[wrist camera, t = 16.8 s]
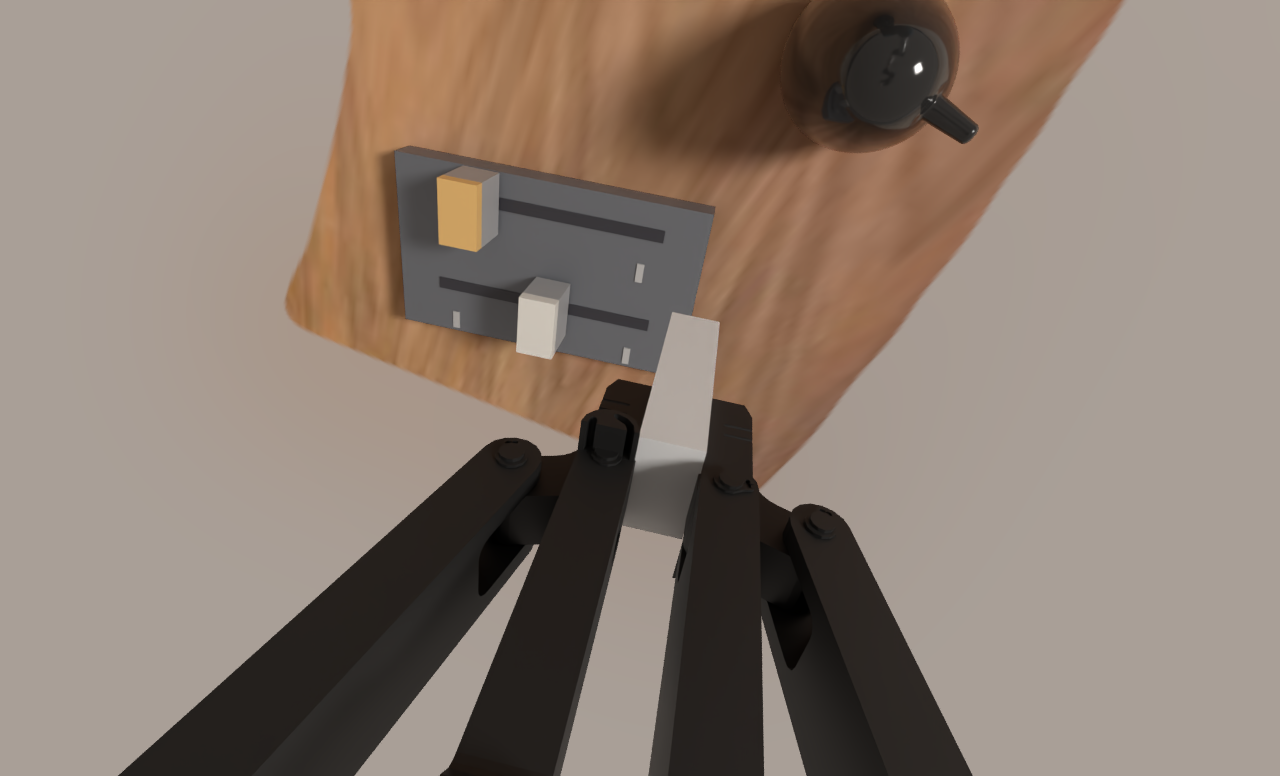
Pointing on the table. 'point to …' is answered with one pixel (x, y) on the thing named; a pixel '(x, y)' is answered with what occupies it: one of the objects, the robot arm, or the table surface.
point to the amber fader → (468, 207)
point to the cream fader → (542, 317)
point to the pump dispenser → (872, 73)
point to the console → (554, 258)
